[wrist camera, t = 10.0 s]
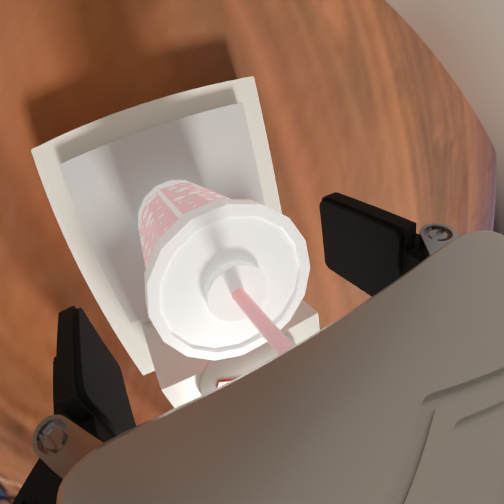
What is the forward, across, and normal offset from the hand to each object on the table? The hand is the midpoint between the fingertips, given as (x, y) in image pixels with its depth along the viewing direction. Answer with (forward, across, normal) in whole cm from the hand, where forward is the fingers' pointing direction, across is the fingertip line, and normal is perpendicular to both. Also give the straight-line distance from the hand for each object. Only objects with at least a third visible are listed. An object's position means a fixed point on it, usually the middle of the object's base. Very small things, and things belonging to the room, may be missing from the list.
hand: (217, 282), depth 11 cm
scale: (+12, -1, +3) cm, 12 cm away
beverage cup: (+9, -1, 0) cm, 9 cm away
